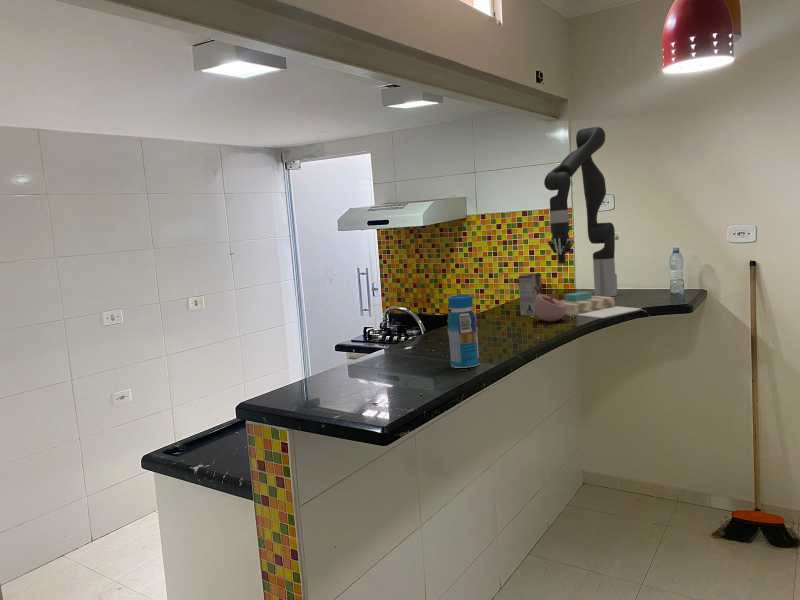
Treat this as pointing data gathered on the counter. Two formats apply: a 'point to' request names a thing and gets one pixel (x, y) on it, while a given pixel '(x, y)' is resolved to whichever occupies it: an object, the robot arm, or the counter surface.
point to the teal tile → (577, 296)
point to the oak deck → (588, 305)
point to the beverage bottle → (462, 332)
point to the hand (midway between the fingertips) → (561, 263)
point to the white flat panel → (609, 312)
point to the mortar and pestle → (549, 307)
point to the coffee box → (529, 292)
